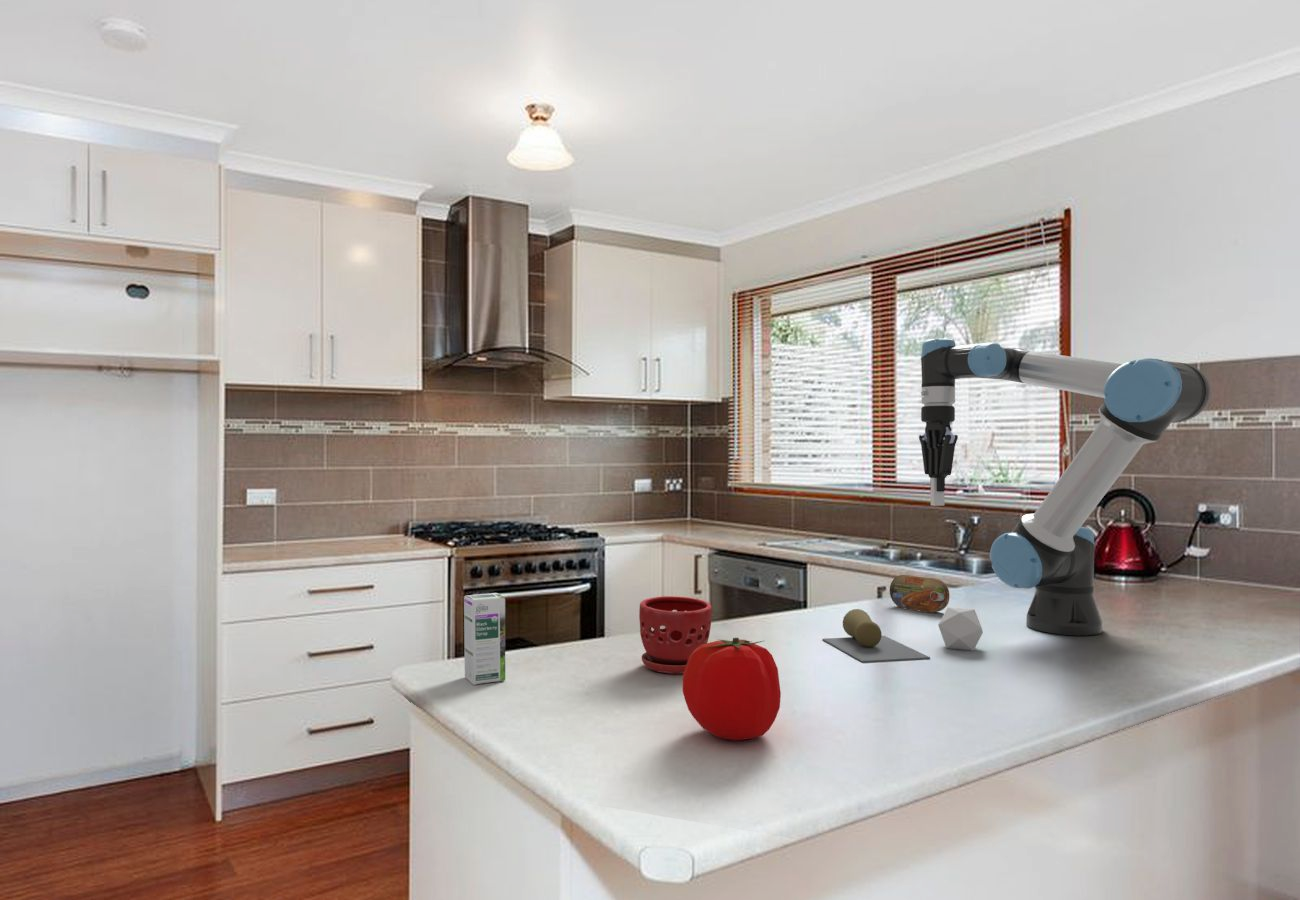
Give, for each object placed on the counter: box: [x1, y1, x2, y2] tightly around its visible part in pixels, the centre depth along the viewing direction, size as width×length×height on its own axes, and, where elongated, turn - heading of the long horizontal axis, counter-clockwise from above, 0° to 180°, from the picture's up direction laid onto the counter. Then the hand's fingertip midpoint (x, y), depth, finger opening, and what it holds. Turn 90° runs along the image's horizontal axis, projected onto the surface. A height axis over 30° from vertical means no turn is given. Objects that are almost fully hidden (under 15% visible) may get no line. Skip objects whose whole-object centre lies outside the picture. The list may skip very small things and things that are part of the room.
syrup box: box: [463, 592, 506, 686], centre depth 145 cm, size 6×6×14 cm
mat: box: [822, 635, 931, 663], centre depth 168 cm, size 18×14×1 cm
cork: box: [842, 608, 883, 647], centre depth 172 cm, size 6×6×11 cm
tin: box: [889, 574, 950, 614], centre depth 207 cm, size 15×3×8 cm, turn 43°
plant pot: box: [638, 595, 713, 675], centre depth 153 cm, size 13×13×12 cm
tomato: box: [682, 637, 782, 741], centre depth 119 cm, size 16×14×14 cm
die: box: [937, 606, 983, 652], centre depth 169 cm, size 8×9×10 cm
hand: (937, 505), depth 199 cm, fingers closed
